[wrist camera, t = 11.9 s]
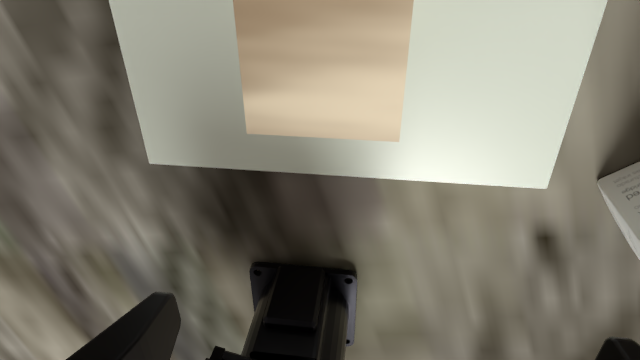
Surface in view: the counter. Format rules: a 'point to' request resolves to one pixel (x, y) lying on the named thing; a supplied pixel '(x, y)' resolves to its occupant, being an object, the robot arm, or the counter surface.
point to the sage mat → (419, 95)
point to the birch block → (324, 66)
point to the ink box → (624, 202)
